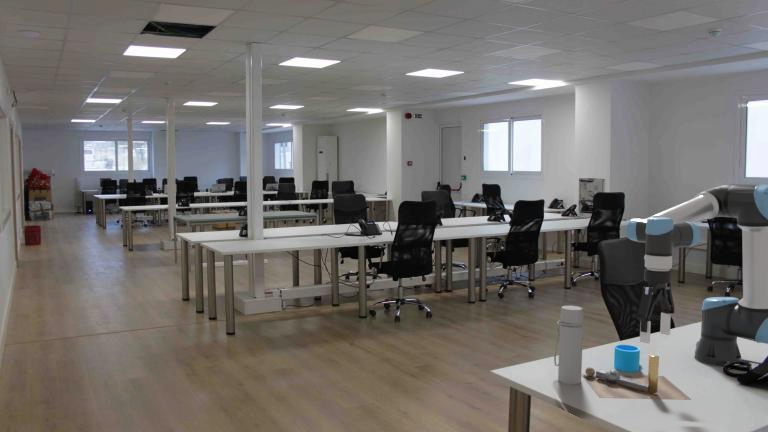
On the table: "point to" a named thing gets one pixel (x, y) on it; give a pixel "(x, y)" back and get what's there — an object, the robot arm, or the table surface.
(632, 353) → the mug
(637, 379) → the nutcracker base
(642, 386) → the lever
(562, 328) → the water bottle
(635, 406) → the table surface
